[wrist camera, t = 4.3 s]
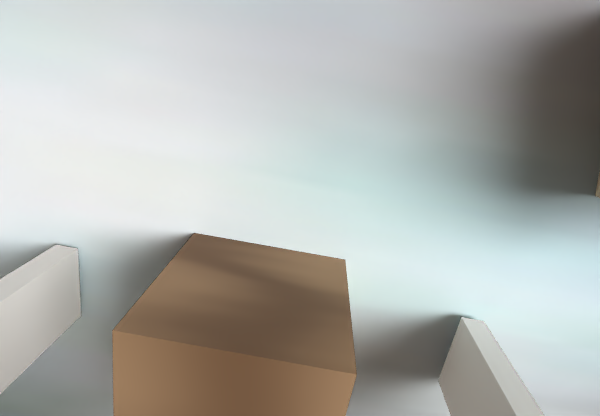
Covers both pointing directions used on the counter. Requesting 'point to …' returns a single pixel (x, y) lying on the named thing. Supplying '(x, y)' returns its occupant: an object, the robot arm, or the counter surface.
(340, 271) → the walnut cube
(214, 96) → the counter surface
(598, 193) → the maple cube
